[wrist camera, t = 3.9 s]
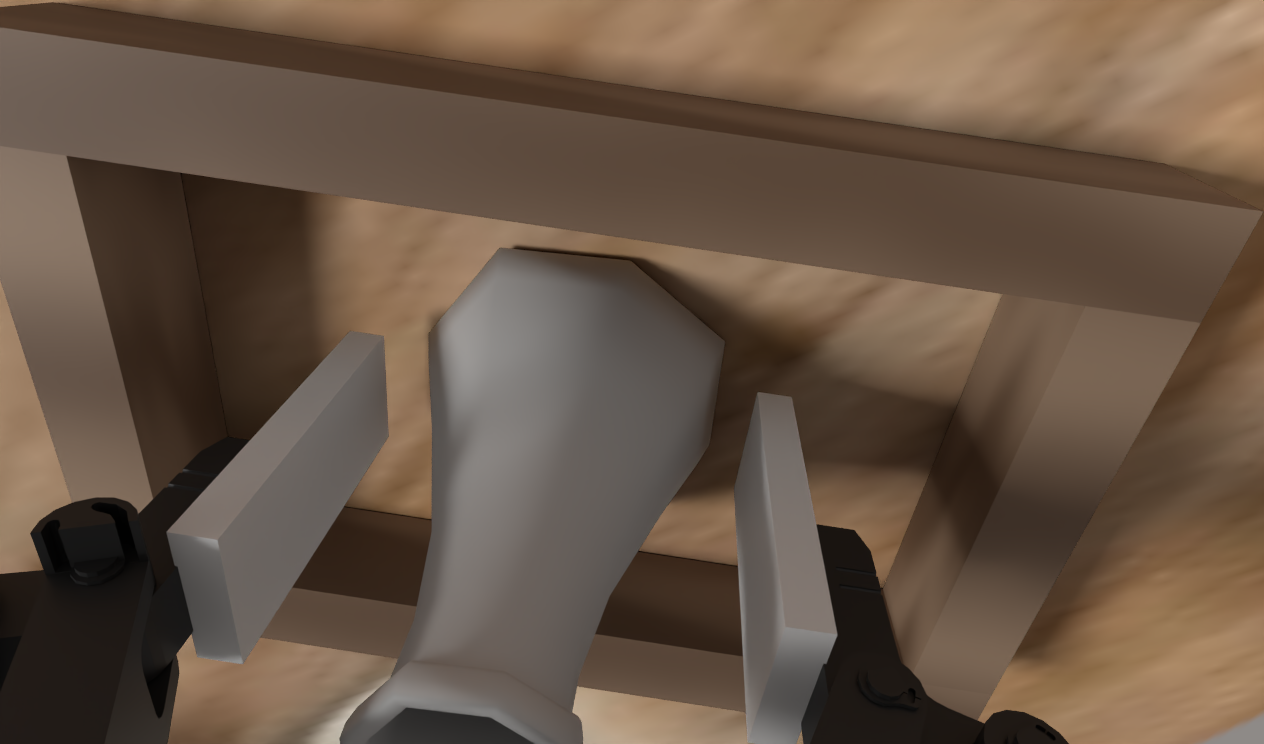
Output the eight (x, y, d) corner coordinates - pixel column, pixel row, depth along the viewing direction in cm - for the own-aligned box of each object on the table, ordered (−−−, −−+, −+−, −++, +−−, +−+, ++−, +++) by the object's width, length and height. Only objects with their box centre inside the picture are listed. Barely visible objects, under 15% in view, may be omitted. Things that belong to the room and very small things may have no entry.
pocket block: (932, 649, 22) (963, 745, 19) (179, 534, 22) (108, 614, 19) (1164, 163, 15) (1263, 211, 12) (52, 2, 15) (-86, 15, 12)
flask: (779, 318, 17) (859, 707, 8) (651, 537, 20) (614, 971, 12) (475, 189, 16) (211, 474, 7) (396, 441, 20) (153, 836, 11)
